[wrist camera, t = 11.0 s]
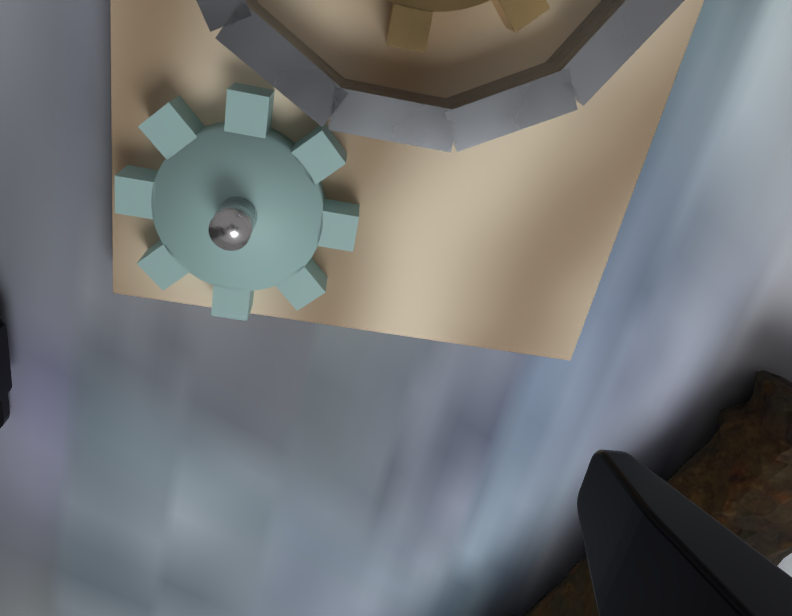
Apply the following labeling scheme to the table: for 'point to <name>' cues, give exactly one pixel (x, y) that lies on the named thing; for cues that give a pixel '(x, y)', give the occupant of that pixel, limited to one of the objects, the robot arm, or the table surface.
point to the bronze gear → (417, 3)
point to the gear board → (384, 161)
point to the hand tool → (724, 487)
